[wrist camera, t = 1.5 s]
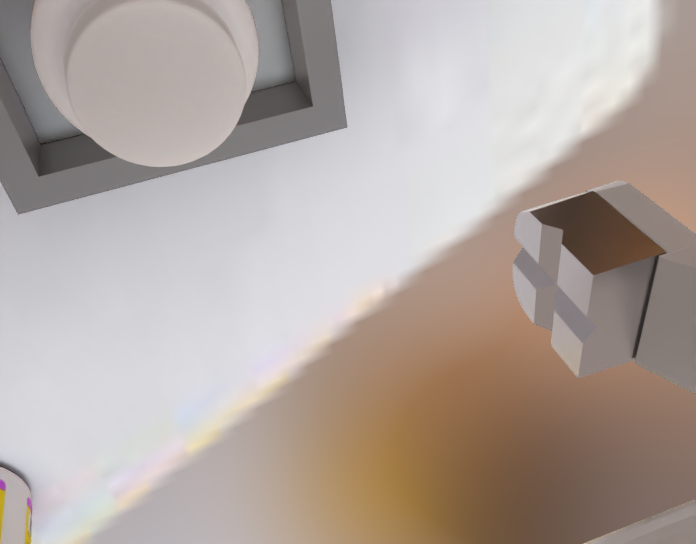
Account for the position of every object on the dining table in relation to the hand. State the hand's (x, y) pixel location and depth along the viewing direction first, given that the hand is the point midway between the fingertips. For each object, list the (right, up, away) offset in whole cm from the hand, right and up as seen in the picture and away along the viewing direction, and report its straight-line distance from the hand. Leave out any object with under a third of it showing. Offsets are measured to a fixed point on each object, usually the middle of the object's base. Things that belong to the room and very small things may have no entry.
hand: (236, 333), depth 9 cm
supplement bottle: (-6, +11, +14) cm, 19 cm away
